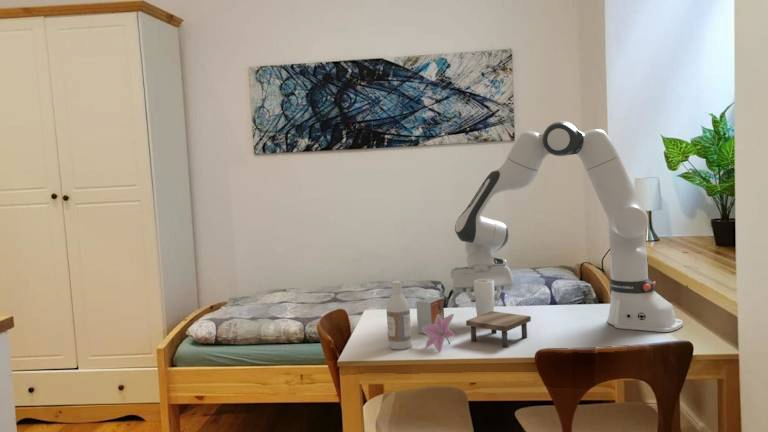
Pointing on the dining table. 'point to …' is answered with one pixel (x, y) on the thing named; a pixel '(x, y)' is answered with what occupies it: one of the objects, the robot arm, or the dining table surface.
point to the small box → (429, 311)
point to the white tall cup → (484, 296)
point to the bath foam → (398, 319)
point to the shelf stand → (498, 324)
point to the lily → (438, 331)
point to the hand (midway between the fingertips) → (484, 300)
